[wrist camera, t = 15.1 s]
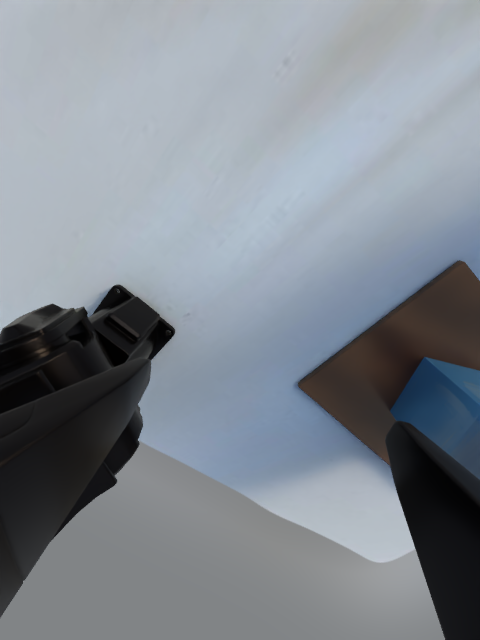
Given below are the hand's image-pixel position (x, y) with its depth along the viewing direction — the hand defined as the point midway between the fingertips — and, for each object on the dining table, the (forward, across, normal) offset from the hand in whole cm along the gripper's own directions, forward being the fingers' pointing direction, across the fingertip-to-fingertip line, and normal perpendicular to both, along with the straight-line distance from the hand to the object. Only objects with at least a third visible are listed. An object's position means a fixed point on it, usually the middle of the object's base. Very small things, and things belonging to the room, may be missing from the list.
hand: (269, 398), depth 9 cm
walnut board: (+13, -17, +6) cm, 23 cm away
